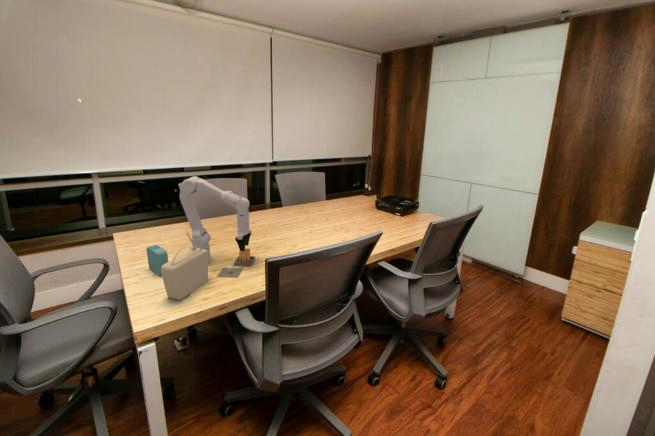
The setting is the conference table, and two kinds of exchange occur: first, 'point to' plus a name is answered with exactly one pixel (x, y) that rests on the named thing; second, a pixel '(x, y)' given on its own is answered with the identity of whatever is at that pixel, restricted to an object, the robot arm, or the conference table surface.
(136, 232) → the conference table surface
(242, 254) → the orange brown block
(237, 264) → the tray
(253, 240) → the conference table surface
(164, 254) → the data package
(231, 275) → the stud plate
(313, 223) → the conference table surface
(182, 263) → the radio
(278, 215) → the conference table surface
